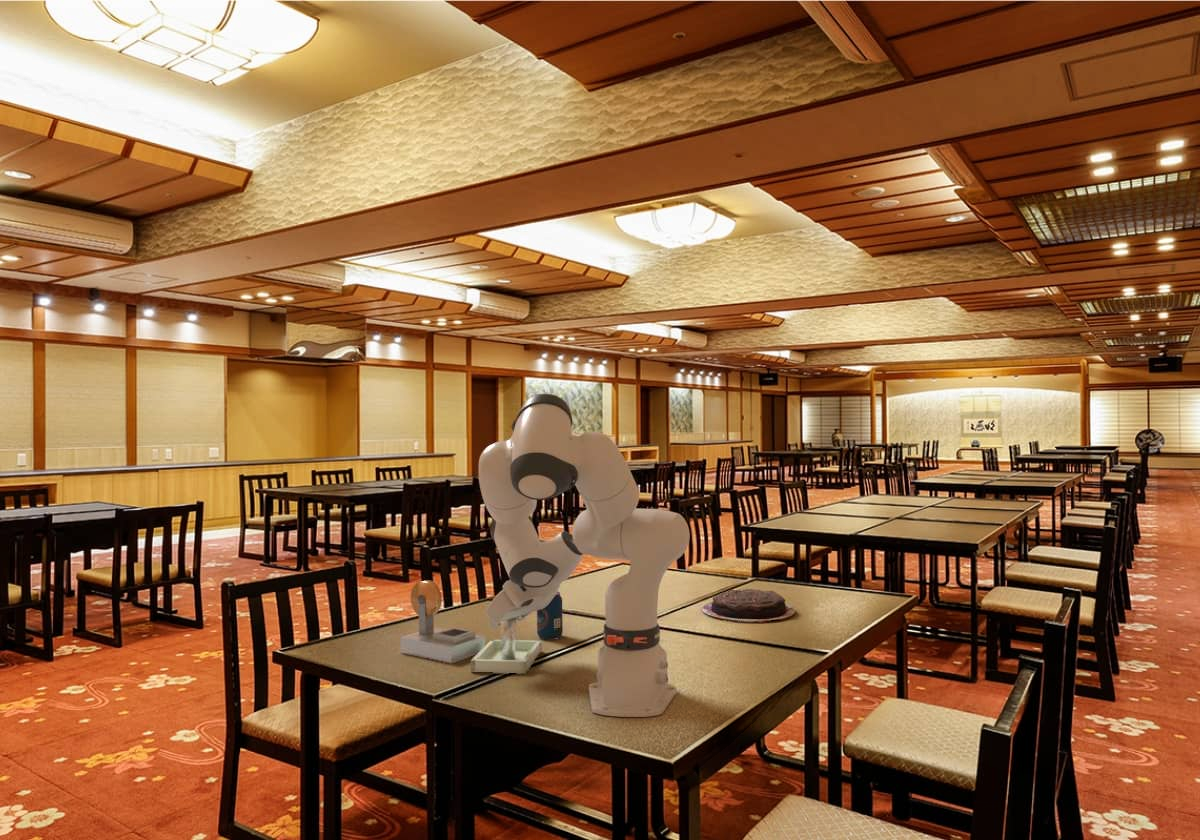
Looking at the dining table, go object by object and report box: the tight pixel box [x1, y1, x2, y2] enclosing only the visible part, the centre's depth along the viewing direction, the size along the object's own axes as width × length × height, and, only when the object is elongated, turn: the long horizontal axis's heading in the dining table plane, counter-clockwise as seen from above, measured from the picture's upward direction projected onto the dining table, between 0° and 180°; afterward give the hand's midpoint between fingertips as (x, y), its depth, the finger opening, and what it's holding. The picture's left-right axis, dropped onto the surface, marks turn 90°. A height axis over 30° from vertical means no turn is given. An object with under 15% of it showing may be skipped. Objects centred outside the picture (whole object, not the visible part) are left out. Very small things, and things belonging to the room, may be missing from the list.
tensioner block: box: [400, 579, 486, 664], centre depth 198 cm, size 20×12×18 cm, turn 56°
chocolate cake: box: [701, 588, 796, 623], centre depth 236 cm, size 28×28×7 cm
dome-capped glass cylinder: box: [500, 617, 517, 660], centre depth 188 cm, size 5×5×12 cm
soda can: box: [536, 591, 564, 640], centre depth 210 cm, size 7×7×12 cm
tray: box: [470, 639, 542, 675], centre depth 188 cm, size 18×13×3 cm
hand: (505, 622), depth 189 cm, fingers open, 8 cm apart
